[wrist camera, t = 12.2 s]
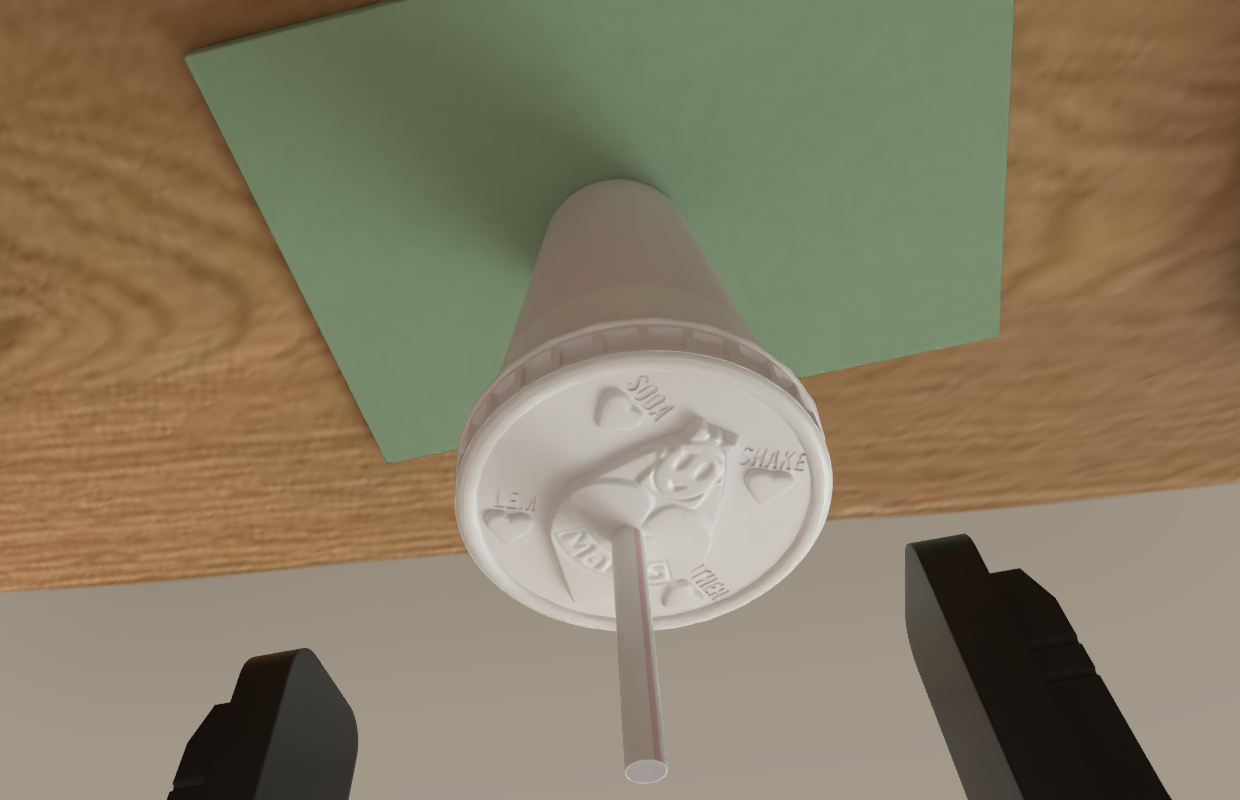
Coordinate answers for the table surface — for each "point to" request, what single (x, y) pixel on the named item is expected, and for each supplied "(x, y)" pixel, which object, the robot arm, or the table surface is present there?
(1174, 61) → the table surface
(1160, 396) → the table surface
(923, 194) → the mat
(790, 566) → the smoothie
